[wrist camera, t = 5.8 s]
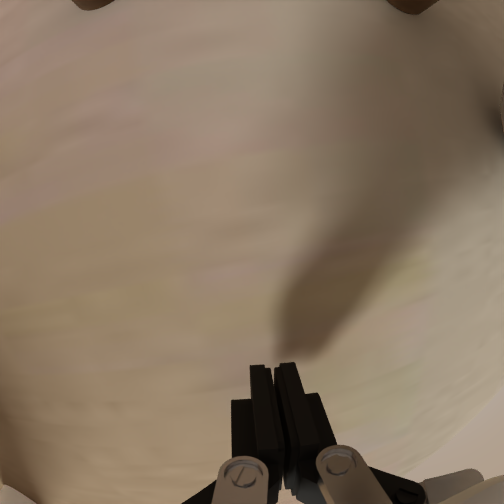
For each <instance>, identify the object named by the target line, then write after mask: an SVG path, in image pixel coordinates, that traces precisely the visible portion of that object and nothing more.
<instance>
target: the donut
mask: <svg viewBox="0 0 504 504" xmlns="http://www.w3.org/2000/svg"><path fill="white" fill-rule="evenodd" d="M500 113H501V120H502V127H503V133H504V85H503V91H502V97H501V103H500Z"/></svg>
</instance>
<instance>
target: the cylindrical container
mask: <svg viewBox="0 0 504 504" xmlns="http://www.w3.org/2000/svg"><path fill="white" fill-rule="evenodd" d="M0 504H36V503H35V502H34V501H32V500H31V499H29V498H28V497H26V496H25V495H23V494H22V493H20V492H19V491H17V490H15V489H14V488H12V487H10V486H8V485H5V484H4V485H3V487H2V489H1V491H0Z"/></svg>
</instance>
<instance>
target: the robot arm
mask: <svg viewBox="0 0 504 504" xmlns="http://www.w3.org/2000/svg"><path fill="white" fill-rule="evenodd" d="M250 386H251V399H240V400H231V434H232V458H231V459H229V460H227V461H226V462H225V463H224V464H223V465H222V466H221V467H220V470H219V472H218V477H217V480H215V481H214V482H213V483H211V484H210V485H208V486H207V487H206V488H204V489H203V490H201V491H200V492H198V493H197V494H195V495H194V496H192V497H191V498H189V499H188V500H186V501H185V502H183V503H182V504H276V503H277V502H278V493H279V490H281V486H282V477H283V479H284V485H285V489H291V493H292V496H294V495H296V499H297V500H299V501H300V502H302V503H304V504H504V475H501V476H497V477H493V478H490V479H488V480H485V481H484V478H483V476H482V474H481V473H480V472H479V471H477V470H475V469H465V470H462V471H458V472H455V473H451V474H447V475H443V476H439V477H434V478H430V479H425V480H424V481H423V482H420V483H416V482H414V481H411V480H408V479H405V478H401V477H398V476H395V475H392V474H389V473H386V472H383V471H380V470H378V469H375V468H372V467H369V466H368V465H367V464H366V462H365V461H364V459H363V458H362V456H361V455H360V454H359V452H358V451H357V450H355V449H354V448H352V447H349V446H346V445H337V442H336V439H335V437H334V434H333V431H332V429H331V426H330V423H329V420H328V418H327V415H326V412H325V410H324V407H323V404H322V401H321V399H320V396H319V394H318V393H310V394H305V393H304V389H303V386H302V383H301V380H300V377H299V374H298V370H297V367H296V364H295V362H290V363H280V365H279V367H275V368H274V384H273V379H272V374H271V369H270V368H265V365H250Z"/></svg>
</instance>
